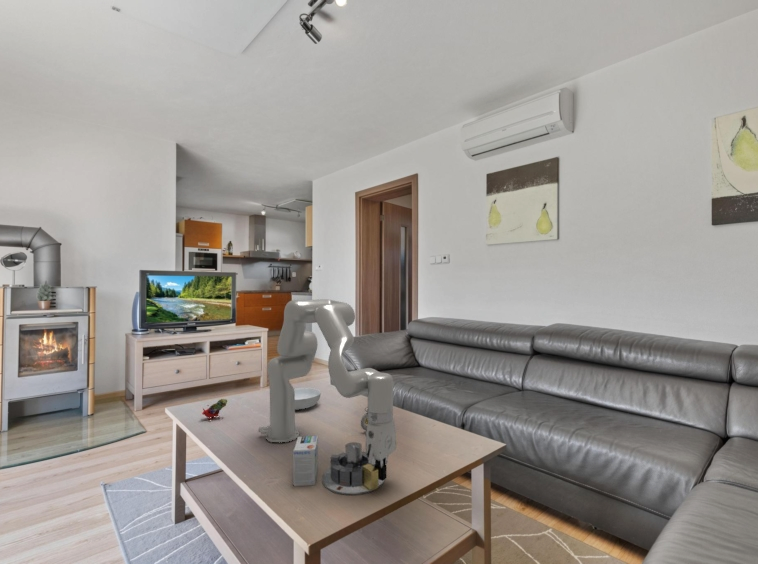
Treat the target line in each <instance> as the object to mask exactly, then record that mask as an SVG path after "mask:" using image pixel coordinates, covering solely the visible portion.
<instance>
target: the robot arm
mask: <svg viewBox="0 0 758 564" xmlns="http://www.w3.org/2000/svg"><path fill="white" fill-rule="evenodd" d="M283 310H284V311H283V322H282V328H281V330H280V334H279V337H278V341H277V347H276V350H277V354H278V355H279V356H275V357H273V358H271V359H270V360H269V361H268V362H267V366H266V373H267V378H268V384H269V386H268V387H269V425H267V426H259V427H258V433H260V434H266V435H265V440H266V439H267V440H268V441H267V440H266V441H267V442H269V441H271V442H270V443H272V442H279V443H278V444H283V443H282V442H285V443H289V441H290V442H292V440H293V441H295V440H297V439H296V438H297V437H300V432H299V431H298V429H296V410H295V391H294V386H293V385H292V384H291V382H290V381H291V380H293V379H298V378H299V379H300V378H303V377H305V376H307V375H308V374H309V373H310V371H311V369H312V365H313V363H314V361H315V356H316V353H317V349H318V345H319V344H318V338H317V336H316V334H315V333H314V332H313V331H311V330H306V326H307V325H306V324H316V323H317V326H318V328H319V330H320V331H321V333H322V335H323V337H324V339H325V341H326V343H327V345H328V347H329V349H330V351H329V352H330V353H329V356H328V361H327V362H328V363H327V365H328V375H329V377H330V379H331V381H332V383H333V385H334V387H335V390H337V392H338V393H339V394H340V396H342V397H343V398H346V399H352V398H356V397H359V396H362V395H367V409H368V425H367V424H366V426H367V433H366V434H365V452H366V456H367V457H369V461H368V463H369V464H371V465H375V468H377V469H378V479H379V480H382V481H383V480H384V479H385V480H386V479H387V464H388V462H389V461H388V459H389V455H391V454H393V453H394V452H395V451H396V449H397V432H396V424H395V418H394V377H393V376H392V375H391V374H390V373H388V372H380V371H378V370H377V369H374V368H371V367H367V368H366V367H365V368H361V369H359V368H358V369H356V370H352V371H348V369H347V368H346V365H345V364H344V361H343V353H344V352H346V351H347V350H348V349H349V348H351V346H353V344H354V341H355V337H354V335H353V333H352V332H351V329H350V328H349V326H352V324H354V322H355V319H356V314H355V309H354V308H353V307H352V306H351V305H350V304H349V303H347V302H344V301H340V300H339V301H338V300H334V299H325V298H324V299H323V298H322V299H320V298H319V299H293V300H289V301H288V302H287V303H286V305H285V307H284V309H283ZM280 442H281V443H280ZM385 480H384V481H385Z"/></svg>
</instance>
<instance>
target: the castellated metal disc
mask: <svg viewBox="0 0 758 564" xmlns="http://www.w3.org/2000/svg"><path fill="white" fill-rule="evenodd" d="M368 461H369V457H367V456H366V451H362V467H358V468H354V464H347V465H346V467H345V452H341V453H339V454H331V456H330V463H329V468H330V475H331V479H332V481H334V482H336V483H337V484H339V483H340V485H345V486H350V485H352V486H359V485H362V484H363V485H365V486H366V487H367V488H369V489H370V490H374V489H376V488H378V469H377V468H375V465H371V464H369V463H368ZM378 489H379V488H378ZM376 490H377V489H376ZM374 491H375V490H374Z"/></svg>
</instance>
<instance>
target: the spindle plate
mask: <svg viewBox="0 0 758 564" xmlns="http://www.w3.org/2000/svg"><path fill="white" fill-rule="evenodd" d="M344 449H345V450H344V451H345V452H344V453H345V467H346V465H347V464H354V468H358V467H362V452H363V450H362V449H363V447H362V443H360V442H356V441H354V442H349V443H348V442H347V443H346V444H345V447H344ZM385 480H386V479H384V480H383V481H382V480H379V479H378V488H376V489H374V490H370V489H369V488H367V487H366V486H365V485H363V484H362V485H359V486H352V485H350V486H345V485H340V483H339V484H337V483H336V482H334V481H332V479H331V475H330V467H328V468H327V469H326V470H325V471H324V472H323V474H322V481H321V482H322V485H323V487H325V488H326V490H328V491H330V492H332V493H334V494H337V495H341V496H359V495H364V494H366V495H367V494H369V493H372V492H374V491H376V490H378V489H379V488H380V487H382V486H383V484H384V483H385Z"/></svg>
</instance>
